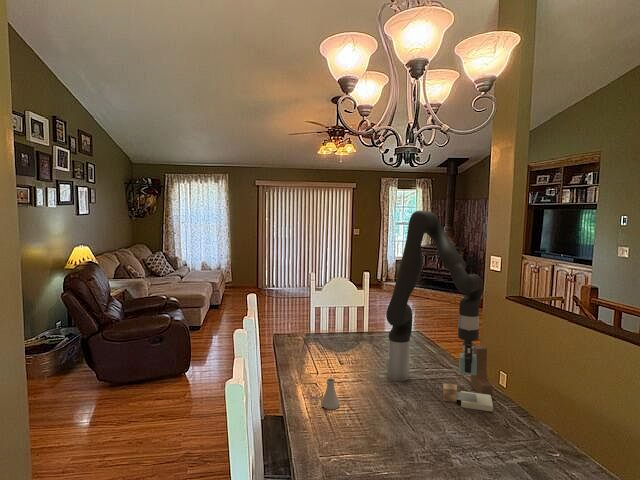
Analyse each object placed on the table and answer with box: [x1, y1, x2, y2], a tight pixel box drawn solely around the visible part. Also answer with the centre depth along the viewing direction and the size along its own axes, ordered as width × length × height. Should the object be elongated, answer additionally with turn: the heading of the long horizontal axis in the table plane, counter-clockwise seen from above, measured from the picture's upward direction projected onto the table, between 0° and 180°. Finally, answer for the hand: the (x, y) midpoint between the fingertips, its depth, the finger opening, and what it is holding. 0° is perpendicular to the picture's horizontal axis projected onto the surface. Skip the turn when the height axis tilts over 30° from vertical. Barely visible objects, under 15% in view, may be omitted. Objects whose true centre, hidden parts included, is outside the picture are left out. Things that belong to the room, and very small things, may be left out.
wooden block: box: [470, 344, 493, 396], centre depth 163 cm, size 9×4×18 cm, turn 8°
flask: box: [321, 377, 341, 410], centre depth 150 cm, size 7×7×10 cm
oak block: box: [442, 382, 458, 403], centre depth 157 cm, size 5×5×5 cm
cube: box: [458, 352, 477, 376], centre depth 153 cm, size 6×6×6 cm
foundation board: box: [457, 390, 494, 413], centre depth 153 cm, size 13×10×2 cm
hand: (467, 369), depth 153 cm, fingers closed on cube, 6 cm apart
